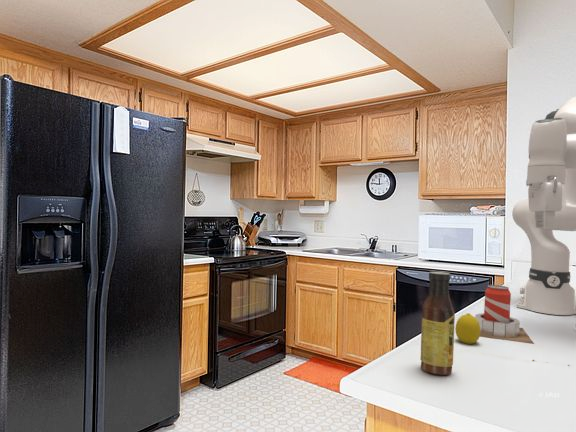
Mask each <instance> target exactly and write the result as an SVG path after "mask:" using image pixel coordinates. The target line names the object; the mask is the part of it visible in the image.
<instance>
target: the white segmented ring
mask: <svg viewBox="0 0 576 432" xmlns="http://www.w3.org/2000/svg"><path fill="white" fill-rule="evenodd" d="M474 315H475V316H474V317H475V318H476V319H477V320H478V322H479V325H480V332H481V333H484V334H487V335H491V336H497V337H517V336H519V328H521V327H520V323H521V322H520V320H519V319H517V318H515V317H512V316H510V321H509V323H503V322H495V321H490V320H486V319H484V312H483V313H477V314H474Z"/></svg>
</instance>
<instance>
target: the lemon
mask: <svg viewBox="0 0 576 432" xmlns="http://www.w3.org/2000/svg"><path fill="white" fill-rule="evenodd" d="M454 331H455V334H456V337H457V339H458V340H459V341H460V342H461V343H463V344H467V345H469V344H470V345H472V344H475V343H476V342H478V340H479V339H480V338H481V337H480V325H479V322H478V320H477V319H476V318H475V316H473V315H472V314H471V313H466V314H463V315H461V316H459V318H457V321H456V323H455V327H454Z"/></svg>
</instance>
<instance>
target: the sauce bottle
mask: <svg viewBox="0 0 576 432" xmlns="http://www.w3.org/2000/svg"><path fill="white" fill-rule="evenodd" d="M428 280H429V289H428V293H429V295H428V296H427V297H426V299H425V300H424V302H423V304H422V317H421V335H420V336H421V337H420V339H421V340H420V361H421V362H420V368H421V369H422V371H424V372H425V373H429V374H432V375H437V376H438V375H440V376H445V375H450V374H451V373H452V371H453V364H454V347H455V346H454V343H455V320H456V319H455V318H456V317H455V314H456V313H455V312H456V311H455V309H454V307H453V303H452V300H451V297H450V291H449V289H450V280H451V273H449V272H443V271H429V273H428Z"/></svg>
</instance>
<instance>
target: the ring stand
mask: <svg viewBox="0 0 576 432" xmlns="http://www.w3.org/2000/svg"><path fill="white" fill-rule="evenodd" d="M479 338H486V339H493V340H501V341H502V340H503V341H510V342H516V343H524V344H533V345H535V343H534V341H533V340H532V338H531V337H530V336H529V334H528V333H527V332H526V331H525V329H524V328H523V327H520V328H519V336H517V337H497V336H491V335H487V334H484V333H481V332H480V337H479Z"/></svg>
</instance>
